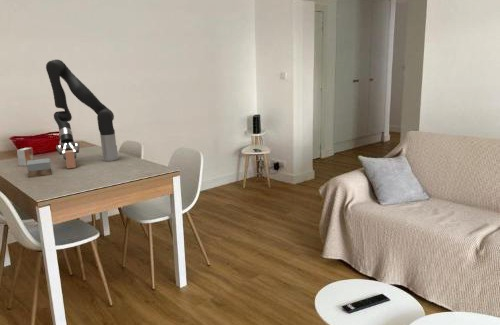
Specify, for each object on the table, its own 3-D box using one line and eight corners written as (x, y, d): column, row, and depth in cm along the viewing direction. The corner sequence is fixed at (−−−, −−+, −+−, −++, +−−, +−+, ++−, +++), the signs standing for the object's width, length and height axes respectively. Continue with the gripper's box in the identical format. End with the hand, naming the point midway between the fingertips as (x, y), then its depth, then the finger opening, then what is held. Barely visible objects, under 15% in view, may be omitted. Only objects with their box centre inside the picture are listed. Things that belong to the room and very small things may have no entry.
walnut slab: (51, 170, 258) (50, 164, 257) (52, 175, 248) (51, 168, 247) (29, 173, 253) (28, 167, 252) (29, 178, 242) (28, 171, 242)
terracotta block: (75, 165, 265) (73, 150, 263) (75, 167, 261) (73, 151, 258) (66, 166, 263) (64, 151, 261) (67, 168, 259) (64, 152, 256)
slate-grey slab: (50, 164, 257) (49, 158, 256) (50, 168, 246) (49, 162, 245) (28, 167, 252) (27, 160, 251) (27, 171, 241) (26, 164, 240)
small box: (26, 166, 271) (23, 150, 269) (18, 165, 272) (16, 149, 270) (35, 163, 279) (32, 147, 277) (27, 163, 280) (25, 147, 278)
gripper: (53, 134, 261) (57, 156, 254) (78, 131, 267) (82, 153, 260) (54, 141, 267) (58, 163, 260) (78, 138, 273) (82, 160, 266)
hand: (70, 158), depth 260 cm, fingers closed on terracotta block, 5 cm apart
